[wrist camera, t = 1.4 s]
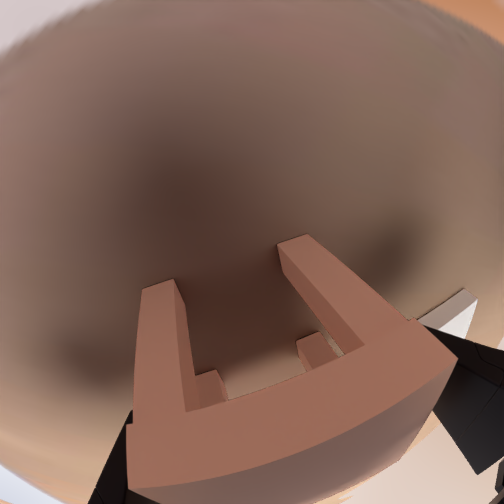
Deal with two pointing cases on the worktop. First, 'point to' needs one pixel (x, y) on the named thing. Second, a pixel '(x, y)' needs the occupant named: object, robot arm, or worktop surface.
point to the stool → (282, 398)
